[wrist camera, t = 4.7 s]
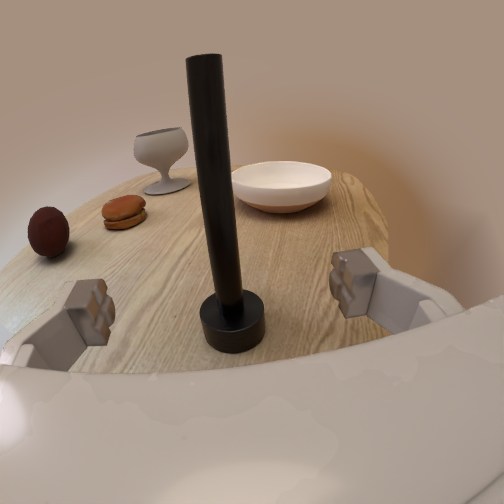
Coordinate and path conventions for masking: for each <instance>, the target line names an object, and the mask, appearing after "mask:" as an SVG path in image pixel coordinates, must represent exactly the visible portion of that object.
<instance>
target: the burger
mask: <svg viewBox="0 0 504 504" xmlns="http://www.w3.org/2000/svg"><path fill="white" fill-rule="evenodd" d="M145 205H146V202H145V200H144V199H143V198H142V197H140V196H137V195H126V196H122V197H119V198H116V199H113V200H110V201H109V202H108V203H106V204H105V205H104V206H103V208H102V216H103V217H104V218H105V219H106V220H104V225H105V227H106V228H108V229H111V228H112V229H125V228H129V227H131V226H134V225H136V224H138V223H140V222H141V221H143V220H144V219H145V217H146V212H145V209H144V208H143V207H145Z"/></svg>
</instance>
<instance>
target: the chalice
mask: <svg viewBox="0 0 504 504" xmlns="http://www.w3.org/2000/svg"><path fill="white" fill-rule="evenodd" d="M187 150H188V140H187V137H186V134H185V132H184V131H183V129H182V128H180V127H179V128H168V129H162V130H157V131H152V132H148V133H144V134H141V135H138V136H136V139H135V143H134V156H135V158H136V160H137V161H138V162H140V163H142V164H144V165H147V166H150V167H153V168H156V169H157V170H158V171H159V172H160V173H161V175H162V179H161V181H159V182H156V183H154V184H151V185H149V186H148V187H147V188H146V189H145V193H147V194H164V193H169V192H173V191H176V190H179V189H182V188H184V187H186V186H187V185H188V184H189V183H190V182H189V181H188V180H187V179H182V178H175V179H171V178H170V177H169V175H168V173H169V169H170V167H171V166H172V165H173V164H174V163H175V162H176V161H177V160H178V159H180V158H181V157H182V156H183V155H184V154H185V153H186V152H187Z"/></svg>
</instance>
